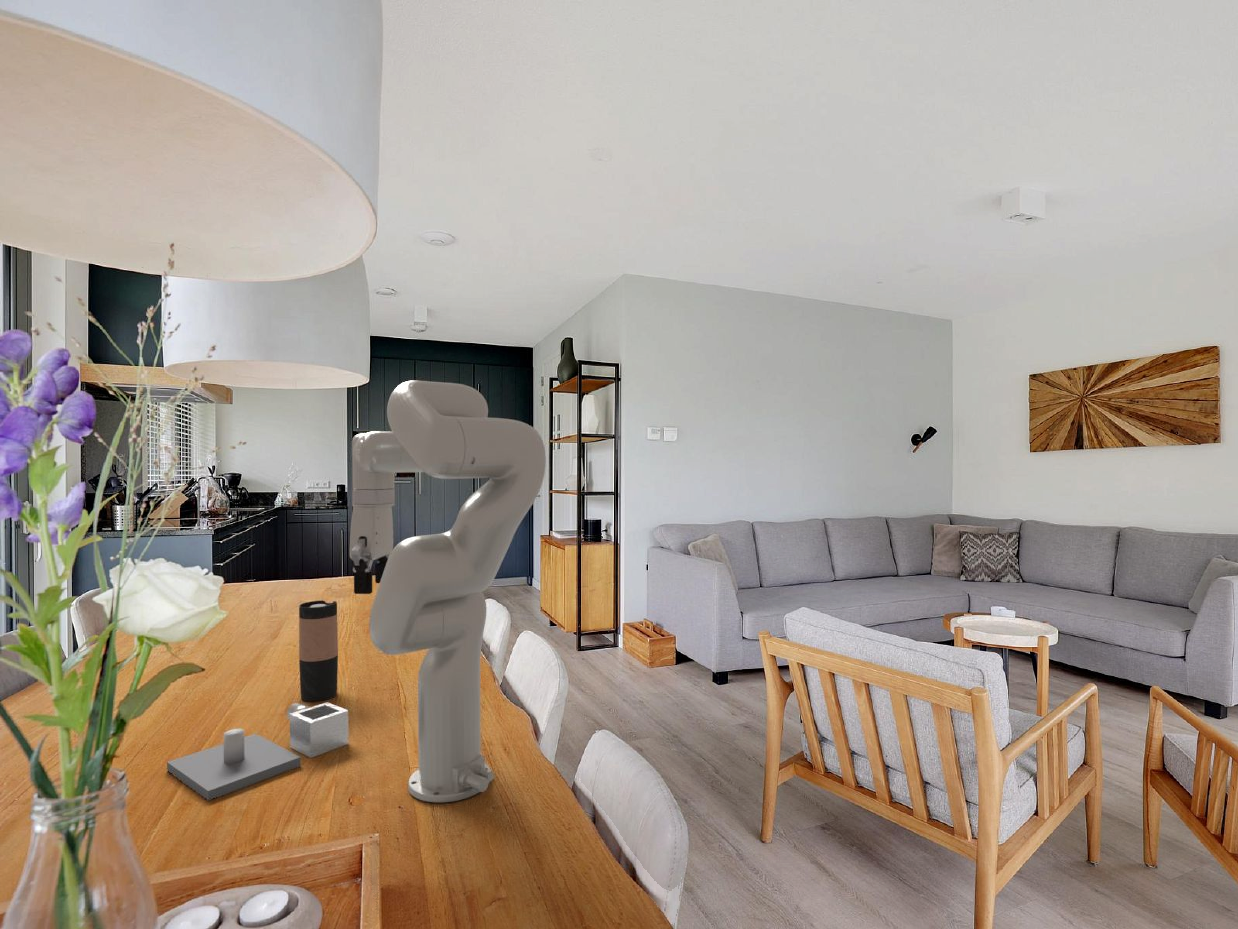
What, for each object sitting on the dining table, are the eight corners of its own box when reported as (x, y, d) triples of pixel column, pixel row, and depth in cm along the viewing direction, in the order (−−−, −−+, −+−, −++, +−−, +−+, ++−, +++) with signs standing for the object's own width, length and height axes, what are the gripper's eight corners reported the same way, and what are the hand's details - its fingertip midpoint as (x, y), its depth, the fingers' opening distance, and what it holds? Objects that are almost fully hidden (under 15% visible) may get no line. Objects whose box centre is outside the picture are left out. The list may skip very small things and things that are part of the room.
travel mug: (301, 705, 137) (300, 609, 137) (297, 694, 144) (296, 602, 144) (341, 698, 141) (340, 605, 141) (335, 687, 148) (334, 598, 148)
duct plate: (300, 766, 110) (300, 730, 110) (208, 801, 99) (207, 761, 99) (255, 741, 120) (255, 708, 120) (167, 771, 108) (166, 734, 108)
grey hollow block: (348, 743, 118) (348, 710, 118) (310, 758, 113) (310, 723, 113) (313, 727, 126) (313, 696, 126) (276, 740, 120) (276, 707, 120)
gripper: (372, 495, 134) (372, 579, 134) (333, 501, 117) (333, 598, 117) (409, 495, 134) (409, 579, 134) (375, 502, 116) (375, 598, 117)
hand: (373, 588), depth 126 cm, fingers open, 9 cm apart
